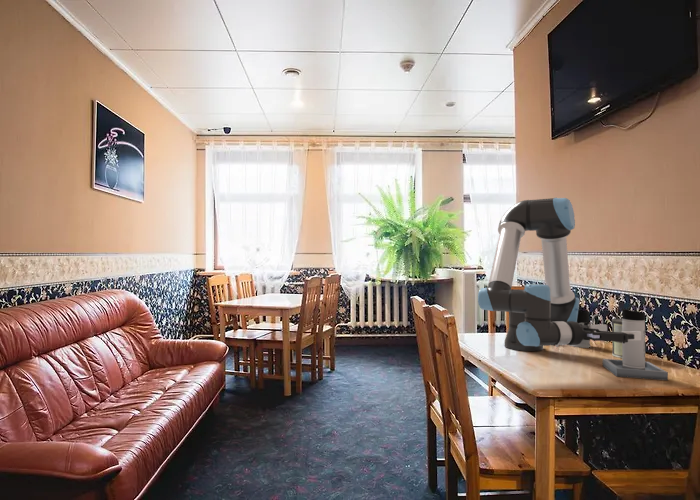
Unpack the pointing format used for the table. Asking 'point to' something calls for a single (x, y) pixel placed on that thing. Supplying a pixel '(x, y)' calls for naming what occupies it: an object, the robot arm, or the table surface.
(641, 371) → the tray
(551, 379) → the table surface
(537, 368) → the table surface
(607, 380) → the table surface
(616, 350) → the coffee can
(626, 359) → the travel mug
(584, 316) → the lidded pitcher
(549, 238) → the robot arm
